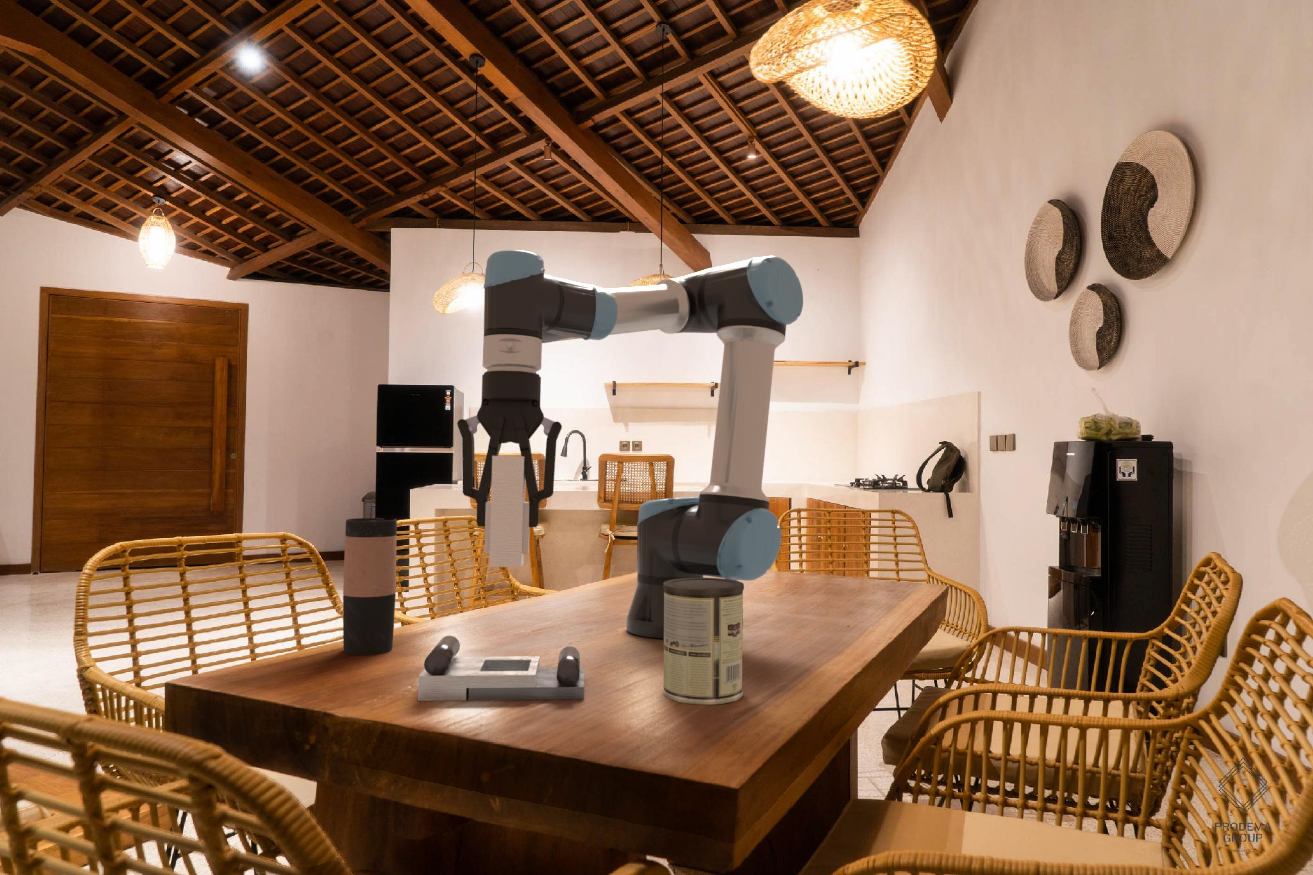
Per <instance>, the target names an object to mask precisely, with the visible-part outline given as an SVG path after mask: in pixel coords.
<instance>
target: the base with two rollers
mask: <svg viewBox="0 0 1313 875" xmlns="http://www.w3.org/2000/svg"><path fill="white" fill-rule="evenodd" d="M460 644H461V643H460V641H459V639H458V638H457V637H456V636H453V635H446V636H443V637H442V638H441V639H440V640H439V642H437V644H436V645H435V646H434V647H433V649H432V650H431V651H430V652H429V654H428V655H427V656H426V657H425V659H424V663H423V667H424V669H423V670H422V671H421V672H420V673H419V675H418V689H417V690H418V691H417V692H418V694H417V696H418V697H417V699H418V702H436V701H437V702H442V701H444V702H446V701H450V702H452V701H456V702H457V701H521V700H522V701H528V700H530V701H537V700H541V701H543V700H544V701H545V700H546V701H547V700H548V701H549V700H550V701H551V700H553V701H554V700H584V699H585V667H584V666H582V667H581V666H580V665H581V664H580V663H581V662H580V661H581V660H580V659H581V655H580V652H579V650H578V649H577V648H576V647H574V646H571V645H570V646H565V647H563V648H562V649H561V650H560V651H559V656H558V662H557V667H552V666H551V667H550V666H549V667H547V666H546V667H545V666H544V667H540V663H541V662H540V660H541V659H540V658H541V657H540V655H539V656H538V655H535V656H534V655H532V656H530V655H529V656H525V655H524V656H523V655H519V656H516V655H514V656H513V655H511V656H510V655H509V656H457V654H458V653H459V651H460V649H461V645H460ZM467 699H468V700H467Z"/></svg>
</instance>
